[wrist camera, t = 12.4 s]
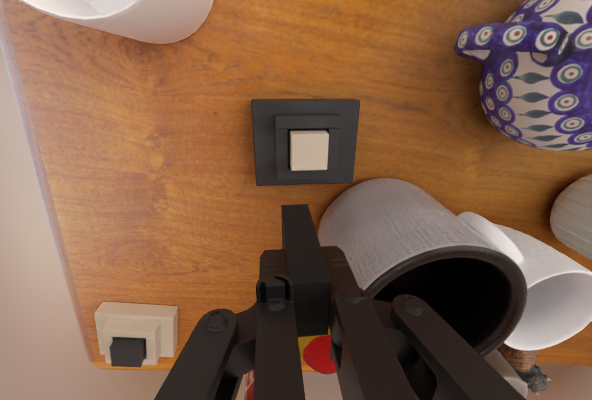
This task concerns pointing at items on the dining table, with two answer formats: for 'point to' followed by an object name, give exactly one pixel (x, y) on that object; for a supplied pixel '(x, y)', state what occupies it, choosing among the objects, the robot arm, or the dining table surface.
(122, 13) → the pale pink cylinder
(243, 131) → the dining table surface
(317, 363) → the decorative egg
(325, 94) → the dining table surface
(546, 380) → the bison figurine
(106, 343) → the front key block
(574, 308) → the mug
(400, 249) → the planter
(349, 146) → the key block
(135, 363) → the black key
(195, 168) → the dining table surface
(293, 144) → the ivory key
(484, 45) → the teapot
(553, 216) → the vase
